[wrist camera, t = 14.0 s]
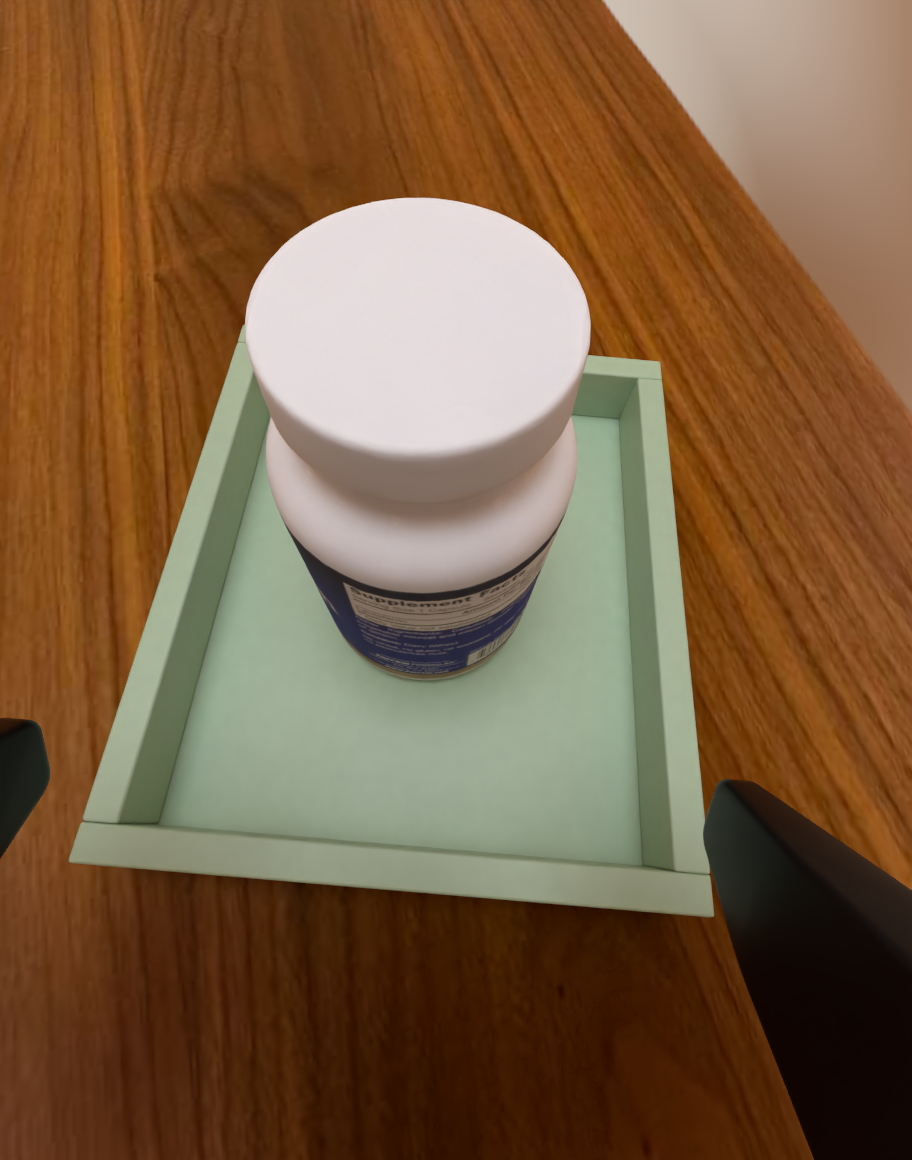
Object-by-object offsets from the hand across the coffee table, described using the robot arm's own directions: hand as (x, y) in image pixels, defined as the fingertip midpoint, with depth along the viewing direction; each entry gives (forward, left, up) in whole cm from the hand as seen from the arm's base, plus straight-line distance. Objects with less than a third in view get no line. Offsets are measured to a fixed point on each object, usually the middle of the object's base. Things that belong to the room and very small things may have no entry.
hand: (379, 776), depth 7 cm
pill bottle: (+6, -1, -8) cm, 10 cm away
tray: (+6, -1, -8) cm, 10 cm away
